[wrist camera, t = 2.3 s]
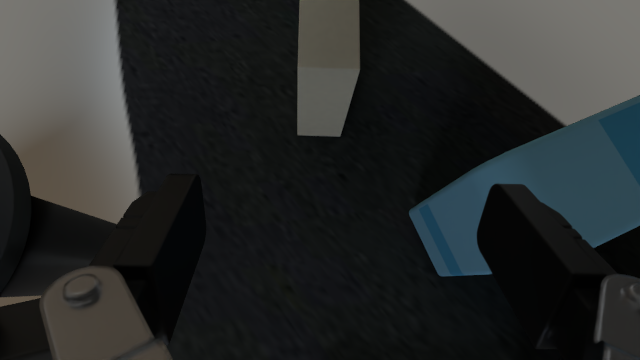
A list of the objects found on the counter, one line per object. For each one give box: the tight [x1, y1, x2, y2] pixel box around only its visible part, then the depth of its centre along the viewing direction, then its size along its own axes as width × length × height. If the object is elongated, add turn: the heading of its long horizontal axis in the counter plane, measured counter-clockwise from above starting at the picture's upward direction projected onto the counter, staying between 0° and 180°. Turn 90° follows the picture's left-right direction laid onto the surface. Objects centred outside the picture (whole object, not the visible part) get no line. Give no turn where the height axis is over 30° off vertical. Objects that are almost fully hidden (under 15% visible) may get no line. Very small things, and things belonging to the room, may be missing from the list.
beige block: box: [297, 0, 360, 137], centre depth 24 cm, size 3×6×9 cm, turn 179°
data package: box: [409, 95, 640, 276], centre depth 21 cm, size 12×4×12 cm, turn 113°
